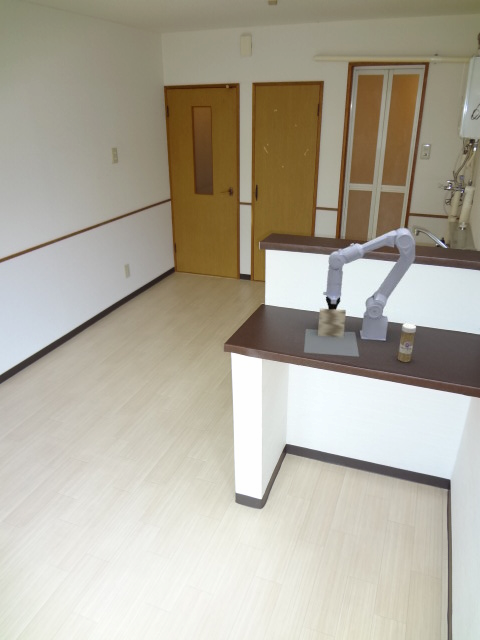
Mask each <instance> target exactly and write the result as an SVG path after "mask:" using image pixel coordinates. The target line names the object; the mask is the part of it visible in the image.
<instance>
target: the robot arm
mask: <svg viewBox="0 0 480 640" xmlns="http://www.w3.org/2000/svg"><path fill="white" fill-rule="evenodd" d="M411 233H412V232H411V231H410V229H408V228H406V227H400V228H398V229H396V230H395V229H394V230H391V231H389V232H386V233H384V234H382V235H380V236H378V237H375V238H373V239H371V240H369V241H367V242H365V243H363V244H360V243H355V244H354V242H353V243H350V245H349V246H347V247H345V248H339V249H338V250H337V251H336V250H335V251H332V252H331V253H330V255H329V257H328V271H327V277H326V278H327V279H326V291H323V292H322V295H323V296H325V301H326V304H327V309H337V308H338V306H339V305H340V302H341V297H342V288H343V287H342V285H343V274H344V271H343V268H344V265H346V264H350V263H353V262H354V261H358V260H360V259H362V258H363V256H364V255H365V254H366V253H369V252H371V251H374V250H376V249H377V250H378V249H380V248H382V247H385V246H386V247H390V248H395V246H396V248H397V249H398V251H399V255H400V256H399V258H398V259H397V260H396V263H395V264H394V265H393V266H392V268H391V270H390V271H389V273H388V274H387V276H386V277H385V279H384V280H383V281H382V283H381V284H380V286H379V288H377V290H376V291H375V292H374V293H373V294H372V295H371V296H369V297H368V298H367V299H366V300H365V308H366V309H365V311H364V312H363V319H362V325H361V329H360V330H359V333H360V334H359V335H360V339H362V340H374V341H382V342H383V341H387V333H388V325H389V324H388V323H389V320H388V319H389V318H388V316H386V315H383V313H384V308H385V306H386V305H387V302H388V299H389V298H390V296H391V295H392V293H394V292H393V291H394V290H395V289H396V287H398V285H399V284H400V281H402V278H404V276H405V274H406V273H407V272H408V270H409V268H411V265H412V264H413V263H414V261H415V260H416V240H415V238H414V236H413V235H412V234H411ZM337 310H338V309H337Z"/></svg>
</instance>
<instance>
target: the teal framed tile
mask: <svg viewBox="0 0 480 640" xmlns="http://www.w3.org/2000/svg"><path fill="white" fill-rule="evenodd" d="M318 313H319V315H318V327H317V328H318V329H317V330H318V336H329V337H343V335H344V332H345V326H346V325H345V323H346V313H347V311H346V309H328V308H319V312H318Z"/></svg>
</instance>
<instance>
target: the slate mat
mask: <svg viewBox="0 0 480 640" xmlns="http://www.w3.org/2000/svg"><path fill="white" fill-rule="evenodd" d="M303 348H304V349H303V353H306V354H316V355H317V354H319V355H321V354H322V355H333V356H334V355H335V356H345V357H346V356H347V357H357V358H358V357H360V354H359V349H358V348H359V347H358V342H357V336H356V332H355V331H344V335H343V337H329V336H318V329H312V328H311V329H310V328H306V329H305V335H304V347H303Z"/></svg>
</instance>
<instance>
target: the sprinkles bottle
mask: <svg viewBox="0 0 480 640" xmlns="http://www.w3.org/2000/svg"><path fill="white" fill-rule="evenodd" d="M416 330H417V326H416V325H415V324H412V323H403V324H402V327H401V336H400V341H399V348H398V356H397V360H398V361H400V362H403V363H410V362H411V358H412V352H413V347H414V340H415V339H414V338H415V335H416V334H415V333H416Z"/></svg>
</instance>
